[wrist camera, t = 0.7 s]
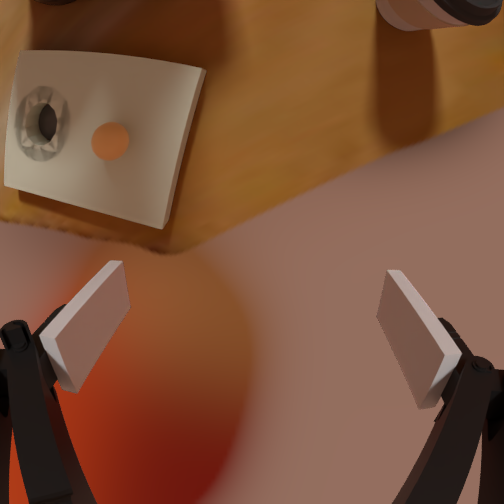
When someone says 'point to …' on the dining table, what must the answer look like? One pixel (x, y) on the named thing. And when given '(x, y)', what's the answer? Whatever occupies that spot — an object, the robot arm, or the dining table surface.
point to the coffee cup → (437, 13)
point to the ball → (110, 141)
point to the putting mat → (89, 119)
